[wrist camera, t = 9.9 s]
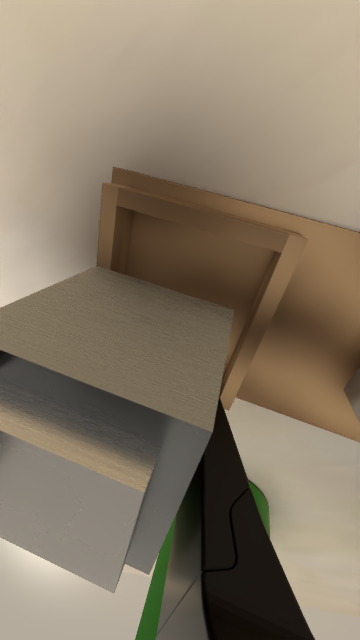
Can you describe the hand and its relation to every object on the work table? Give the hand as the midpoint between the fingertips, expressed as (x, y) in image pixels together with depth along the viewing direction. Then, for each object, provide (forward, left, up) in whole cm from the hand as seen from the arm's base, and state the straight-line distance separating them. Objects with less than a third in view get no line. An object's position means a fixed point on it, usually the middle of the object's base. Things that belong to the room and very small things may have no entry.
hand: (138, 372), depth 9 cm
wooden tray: (0, -6, -9) cm, 10 cm away
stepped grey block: (0, 0, -1) cm, 1 cm away
